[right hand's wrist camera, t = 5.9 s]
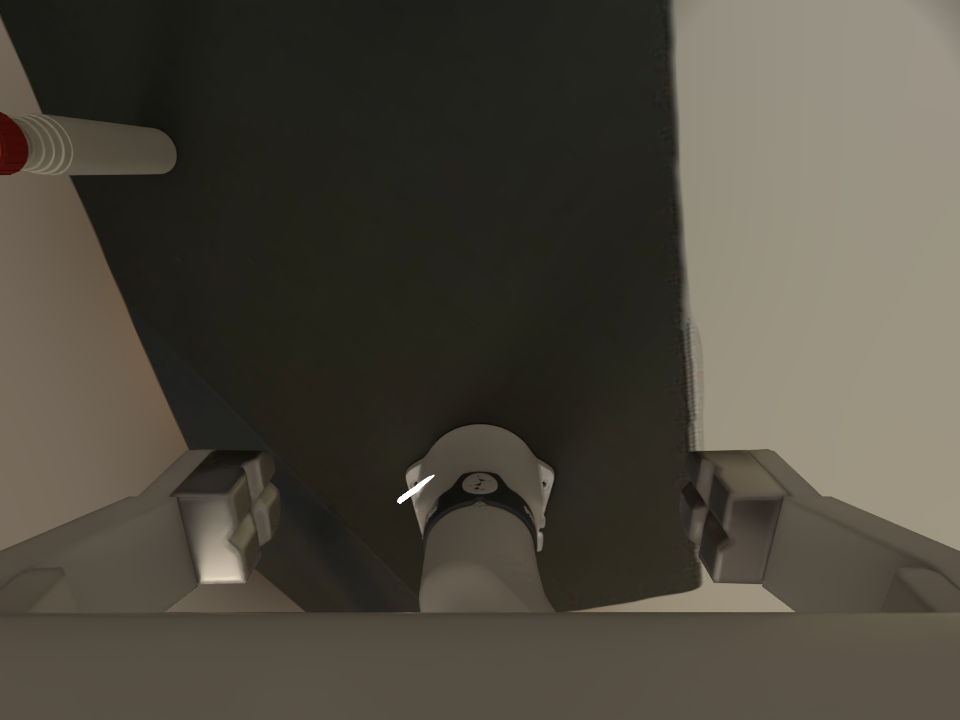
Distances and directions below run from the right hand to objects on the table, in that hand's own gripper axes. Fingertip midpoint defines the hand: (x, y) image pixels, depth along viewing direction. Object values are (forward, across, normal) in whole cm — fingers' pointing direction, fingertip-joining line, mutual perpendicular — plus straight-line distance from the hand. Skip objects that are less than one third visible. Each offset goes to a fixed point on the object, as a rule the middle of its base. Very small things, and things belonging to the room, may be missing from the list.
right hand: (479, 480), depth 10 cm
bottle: (+48, -33, +8) cm, 59 cm away
